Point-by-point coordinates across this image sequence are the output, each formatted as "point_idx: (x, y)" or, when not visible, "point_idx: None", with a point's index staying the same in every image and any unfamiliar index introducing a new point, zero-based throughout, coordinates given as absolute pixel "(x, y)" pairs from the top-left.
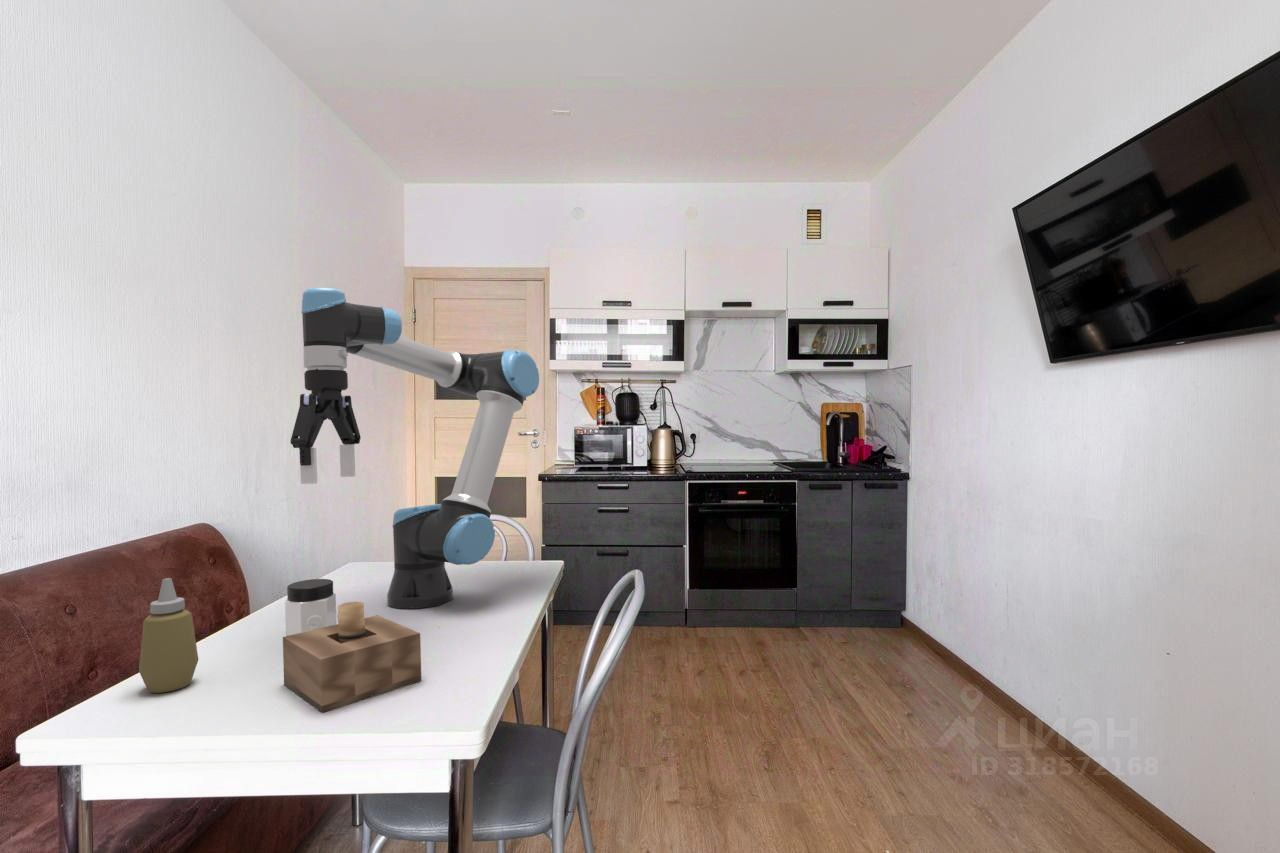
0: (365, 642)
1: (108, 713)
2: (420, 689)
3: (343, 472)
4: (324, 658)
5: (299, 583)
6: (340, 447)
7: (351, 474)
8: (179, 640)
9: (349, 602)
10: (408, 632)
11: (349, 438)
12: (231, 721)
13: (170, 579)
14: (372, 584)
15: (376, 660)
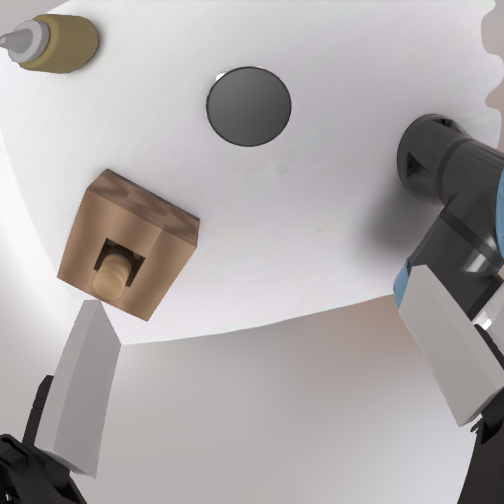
0: None
1: None
2: None
3: (419, 290)
4: (59, 278)
5: (249, 83)
6: (485, 378)
7: (403, 313)
8: (43, 71)
9: (115, 280)
10: (145, 311)
11: (480, 445)
12: (38, 187)
13: (3, 46)
14: (496, 64)
15: None
